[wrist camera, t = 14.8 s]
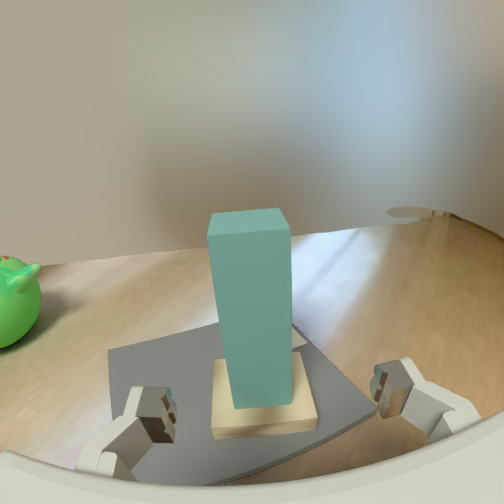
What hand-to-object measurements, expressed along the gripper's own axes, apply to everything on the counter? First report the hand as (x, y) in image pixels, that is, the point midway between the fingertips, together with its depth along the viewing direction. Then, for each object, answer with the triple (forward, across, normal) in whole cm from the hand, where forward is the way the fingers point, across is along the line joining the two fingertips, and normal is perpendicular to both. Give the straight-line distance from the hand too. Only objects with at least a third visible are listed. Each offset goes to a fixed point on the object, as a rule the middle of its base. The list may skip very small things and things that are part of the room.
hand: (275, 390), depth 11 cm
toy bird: (+24, -41, -16) cm, 50 cm away
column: (+12, 0, -13) cm, 17 cm away
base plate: (+14, -4, -16) cm, 22 cm away
